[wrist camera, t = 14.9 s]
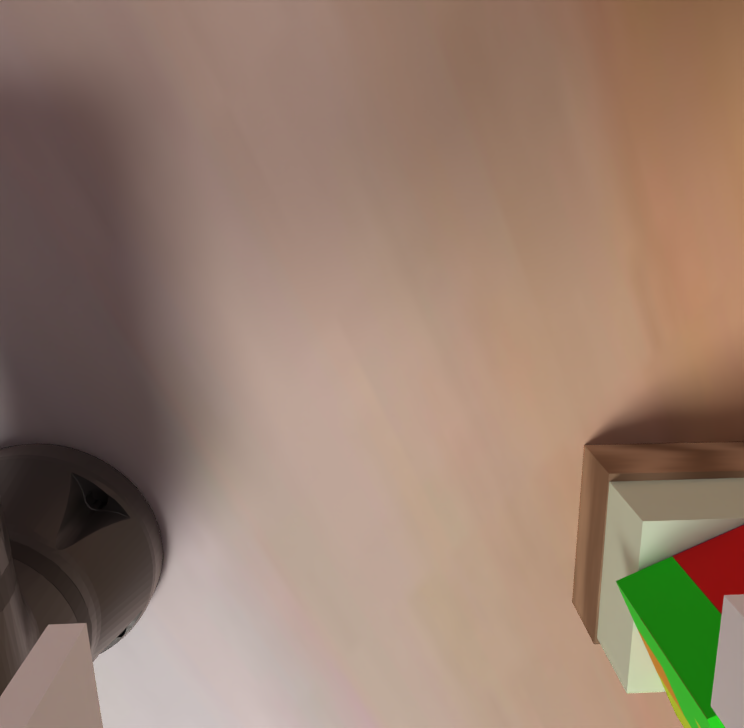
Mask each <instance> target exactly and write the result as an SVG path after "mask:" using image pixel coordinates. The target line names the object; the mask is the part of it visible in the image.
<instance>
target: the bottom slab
mask: <svg viewBox="0 0 744 728" xmlns="http://www.w3.org/2000/svg"><path fill="white" fill-rule="evenodd" d="M719 478H744V442H705V443H656V444H608V445H584V454H583V467H582V480H581V493H580V506H579V519H578V532H577V546H576V559H575V572H574V585H573V598H572V603H573V604H574V606H575V608H576V610H577V612H578V614H579V616H580V618H581V620H582V622H583V624H584V626H585V627H586V629H587V631H588V633H589V635H590V637H591V639H592V641H593V643H594V644H600V642H599V641H598V639H597V632H598V619H599V607H600V594H601V581H602V568H603V556H604V543H605V530H606V518H607V505H608V492H609V482H618V481H652V480H685V479H719Z"/></svg>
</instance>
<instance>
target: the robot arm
mask: <svg viewBox="0 0 744 728" xmlns="http://www.w3.org/2000/svg"><path fill="white" fill-rule="evenodd" d="M162 560H163V548H162V540H161V535H160V531H159V527H158V524H157V521H156V519H155V517H154V514H153V512H152V510H151V508H150V507H149V505H148V503H147V502H146V500H145V499H144V497H143V496H142V495H141V493H140V492H139V491H138V490H137V488H136V487H135V486H134V485H133V484H132V483H131V482H130V481H129V480H128V479H127V478H126V477H124V476H123V475H122V474H121V473H120V472H118V471H117V470H116V469H114V468H113V467H111V466H110V465H108V464H107V463H105V462H103V461H101V460H99V459H97V458H95V457H93V456H91V455H89V454H86V453H84V452H81V451H78V450H75V449H71V448H67V447H62V446H57V445H49V444H26V445H18V446H12V447H8V448H4V449H1V450H0V728H103V725H102V719H101V713H100V706H99V700H98V694H97V687H96V681H95V675H94V668H93V661H94V660H95V659H96V658H97V657H98V655H99V654H101V653H102V652H104V651H106V650H107V649H109V648H111V647H112V646H113V645H115V644H116V643H117V642H119V641H120V640H121V639H122V638H123V637H124V636H126V635H127V634H128V632H129V631H130V630H131V629H132V628H133V627H134V626H135V624H136V623H137V622H138V621H139V619H140V618H141V616H142V615H143V613H144V611H145V610H146V608H147V606H148V603H149V601H150V599H151V597H152V595H153V593H154V591H155V589H156V586H157V584H158V581H159V577H160V574H161V569H162ZM711 707H712V709H713V710H714V712H715V713H716V715H717V716H718V718H719V719H720V720H721V722H722V723H723V725H724V726H725V728H744V594H740V595H724V599H723V608H722V616H721V624H720V633H719V641H718V649H717V657H716V666H715V674H714V682H713V691H712V699H711Z"/></svg>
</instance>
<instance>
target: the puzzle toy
mask: <svg viewBox="0 0 744 728" xmlns="http://www.w3.org/2000/svg"><path fill="white" fill-rule="evenodd" d="M616 583H617V585H618V587H619V590H620V592H621V594H622V596H623V598H624V601H625V603H626V605H627V607H628V609H629V612H630V614H631V616H632V618H633V620H634V623H635V625H636V627H637V629H638V632H639V634H640V636H641V638H642V640H643V643H644V645H645V647H646V649H647V651H648V654H649V656H650V658H651V660H652V662H653V665H654V667H655V669H656V671H657V673H658V676H659V678H660V680H661V682H662V685H663V687H664V689H665V691H666V693H667V696H668V698H669V700H670V702H671V704H672V707H673V709H674V711H675V713H676V715H677V717H678V718H679V720H680V722H681V723H682V725H683V727H684V728H725V726H724V725H723V723H722V722H721V720H720V719H719V718H718V716H717V715H716V713H715V712H714V710H713V709H712V707H711V699H712V691H713V682H714V674H715V666H716V657H717V649H718V641H719V633H720V624H721V616H722V608H723V599H724V595H740V594H744V525H741V526H739V527H737V528H735V529H732V530H730V531H728V532H725V533H723V534H721V535H719V536H716V537H714V538H712V539H710V540H707V541H705V542H703V543H701V544H698V545H696V546H694V547H692V548H689V549H687V550H685V551H682V552H680V553H678V554H676V555H673V556H671V557H669V558H667V559H664V560H662V561H660V562H658V563H655V564H653V565H651V566H649V567H646V568H644V569H642V570H639V571H637V572H635V573H633V574H630V575H628V576H626V577H624V578H621V579H619V580H617V581H616Z"/></svg>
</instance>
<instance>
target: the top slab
mask: <svg viewBox="0 0 744 728" xmlns="http://www.w3.org/2000/svg"><path fill="white" fill-rule="evenodd" d="M741 525H744V478H719V479H685V480H652V481H618V482H609V492H608V505H607V518H606V530H605V543H604V556H603V568H602V581H601V594H600V607H599V619H598V632H597V639H598V641H599V642H600V644H601V646H602V648H603V650H604V652H605V654H606V656H607V657H608V659H609V661H610V663H611V665H612V667H613V669H614V670H615V672H616V674H617V676H618V678H619V680H620V682H621V684H622V685H623V687H624V689H625V691H626V693H648V692H666V691H665V689H664V687H663V685H662V682H661V680H660V678H659V676H658V673H657V671H656V669H655V667H654V665H653V662H652V660H651V658H650V656H649V654H648V651H647V649H646V647H645V645H644V643H643V640H642V638H641V636H640V634H639V632H638V629H637V627H636V625H635V623H634V620H633V618H632V616H631V614H630V612H629V609H628V607H627V605H626V603H625V601H624V598H623V596H622V594H621V592H620V590H619V587H618V585H617V583H616V581H617V580H619V579H621V578H624V577H626V576H628V575H630V574H633V573H635V572H637V571H639V570H642V569H644V568H646V567H649V566H651V565H653V564H655V563H658V562H660V561H662V560H664V559H667V558H669V557H671V556H673V555H676V554H678V553H680V552H682V551H685V550H687V549H689V548H692V547H694V546H696V545H698V544H701V543H703V542H705V541H707V540H710V539H712V538H714V537H716V536H719V535H721V534H723V533H725V532H728V531H730V530H732V529H735V528H737V527H739V526H741Z"/></svg>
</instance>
